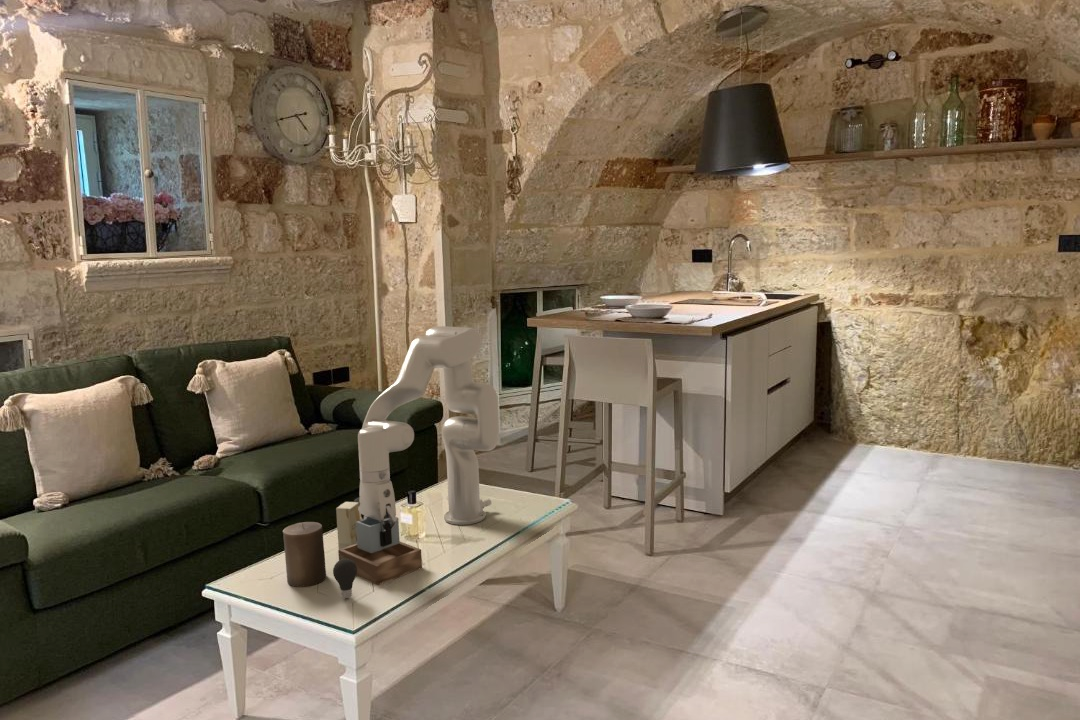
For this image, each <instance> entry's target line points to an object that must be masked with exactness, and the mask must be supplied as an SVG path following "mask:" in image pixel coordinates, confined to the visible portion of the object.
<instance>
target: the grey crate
mask: <svg viewBox="0 0 1080 720" xmlns="http://www.w3.org/2000/svg"><path fill="white" fill-rule="evenodd" d="M385 518H386V516H384V519H385ZM396 518H397V521H396V523H395V524H394V526H393V529H392V530H391V533H392V544H389V545H387V546H384V547H382V546H381V542H380V532H381V531H382V530H381V527H380V523H379V521H378V520H375V519H372V518H368V519H364V520H360V521H357V522H356V530H357V547H358V548H359V549H362V550H364V551H367V552H369V553H374V552H376V551H379V550H382V549H385V548H388V547H391V546H393V545H396V544H399V543H400V542H401V541H400V528H399V521H400V520H399V517H398V516H396ZM386 523H387V521H384V525H386Z"/></svg>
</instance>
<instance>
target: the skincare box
mask: <svg viewBox="0 0 1080 720" xmlns="http://www.w3.org/2000/svg"><path fill="white" fill-rule="evenodd" d="M358 507H359V502H354V501H344V502H343V503H341V504H340V505H338V506H337V507H336V508H335V511H336V526H337V540H338V541H337V542H338V543H337V544H338V546H337V547H338V550H339V549H342V548H345V547H348V546H351V545H354V544H356V543H357V530H356V522H357V521H360V515H359V510H358Z"/></svg>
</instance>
